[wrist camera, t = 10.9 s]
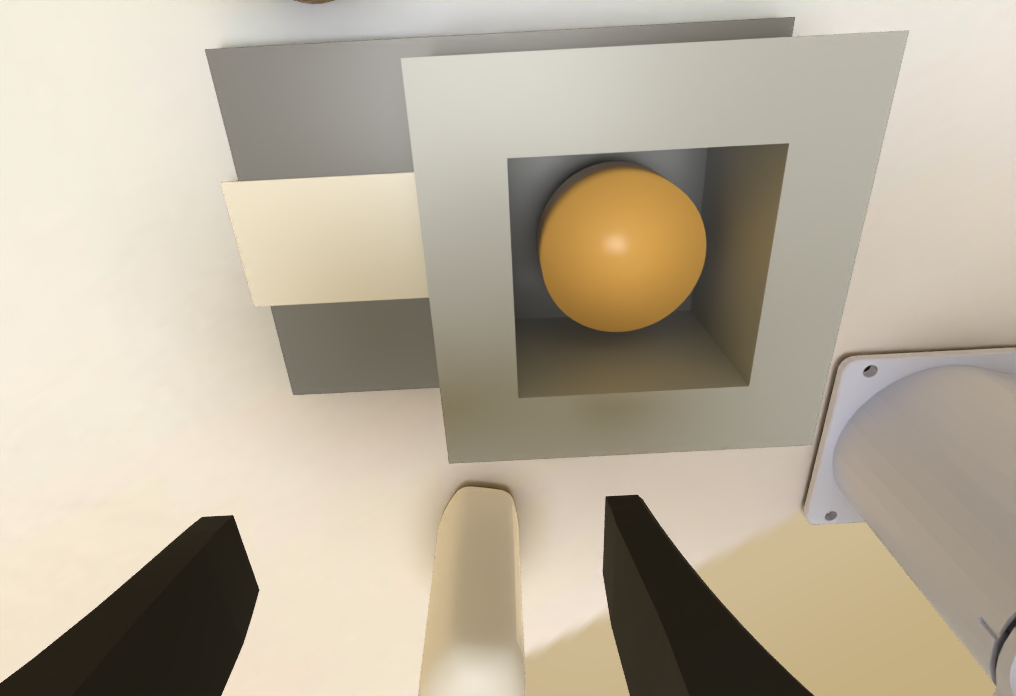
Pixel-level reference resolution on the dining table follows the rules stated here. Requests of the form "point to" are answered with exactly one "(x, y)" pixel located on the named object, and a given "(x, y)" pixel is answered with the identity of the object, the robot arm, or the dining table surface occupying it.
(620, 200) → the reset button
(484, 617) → the eye dropper bottle
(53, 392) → the dining table surface
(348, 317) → the grey open box
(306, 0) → the dowel
